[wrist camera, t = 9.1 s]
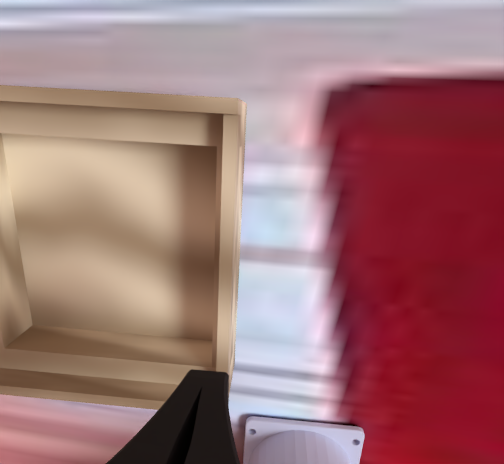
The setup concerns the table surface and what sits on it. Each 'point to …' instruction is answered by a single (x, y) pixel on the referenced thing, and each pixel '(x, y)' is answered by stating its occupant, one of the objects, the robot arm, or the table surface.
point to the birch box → (117, 242)
